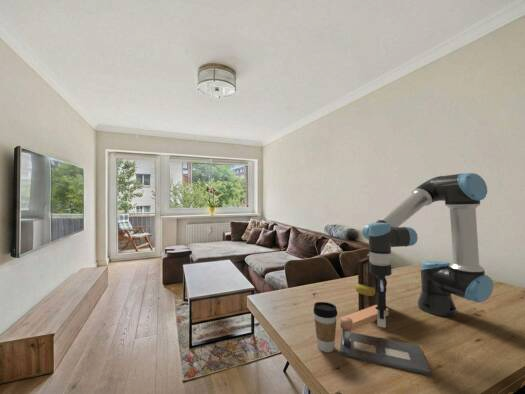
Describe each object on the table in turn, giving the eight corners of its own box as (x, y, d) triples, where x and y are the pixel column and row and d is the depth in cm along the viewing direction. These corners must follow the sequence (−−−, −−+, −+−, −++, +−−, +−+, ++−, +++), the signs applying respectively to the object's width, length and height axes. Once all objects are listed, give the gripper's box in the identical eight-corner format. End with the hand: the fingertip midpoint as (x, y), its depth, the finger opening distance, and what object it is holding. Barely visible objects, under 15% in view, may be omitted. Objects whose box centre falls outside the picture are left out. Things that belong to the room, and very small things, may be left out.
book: (371, 301, 122) (370, 254, 123) (389, 306, 116) (388, 256, 117) (353, 316, 107) (352, 261, 107) (372, 323, 101) (371, 265, 101)
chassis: (419, 348, 82) (418, 330, 83) (430, 375, 70) (429, 353, 70) (342, 333, 92) (342, 316, 93) (339, 354, 80) (339, 335, 80)
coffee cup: (310, 340, 88) (310, 300, 88) (332, 339, 88) (331, 299, 89) (318, 355, 79) (317, 311, 80) (341, 353, 80) (341, 309, 80)
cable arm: (376, 310, 97) (376, 303, 97) (388, 315, 93) (388, 308, 93) (337, 325, 85) (336, 317, 85) (348, 332, 81) (348, 323, 81)
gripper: (368, 258, 96) (369, 316, 95) (370, 266, 84) (371, 332, 83) (389, 260, 93) (390, 320, 92) (393, 268, 81) (395, 337, 80)
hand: (381, 326), depth 88 cm, fingers closed
